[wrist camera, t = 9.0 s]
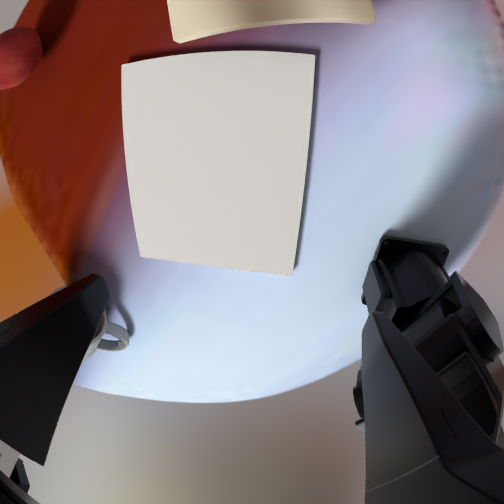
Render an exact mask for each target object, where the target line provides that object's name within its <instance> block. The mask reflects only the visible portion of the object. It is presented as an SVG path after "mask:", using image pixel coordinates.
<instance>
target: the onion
mask: <svg viewBox="0 0 504 504" xmlns="http://www.w3.org/2000/svg"><path fill="white" fill-rule="evenodd" d="M42 55H43V50H42V44H41V39H40V37H39V34H38V33H37V32H36V31H35V30H34V29H32V28H29V27H24V26H20V27H15V28H12V29H9V30H7V31H5V32H3V33H1V34H0V89H8V88H12V87H15V86H17V85H19V84H20V83H21V82H23V81H24V80H25V79H26V78H27V77H29V76H30V74H31V73H32V72H33V70H34V69H35V67H36V66H37V64H38V62H39V61H40V59H41V58H42Z"/></svg>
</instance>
